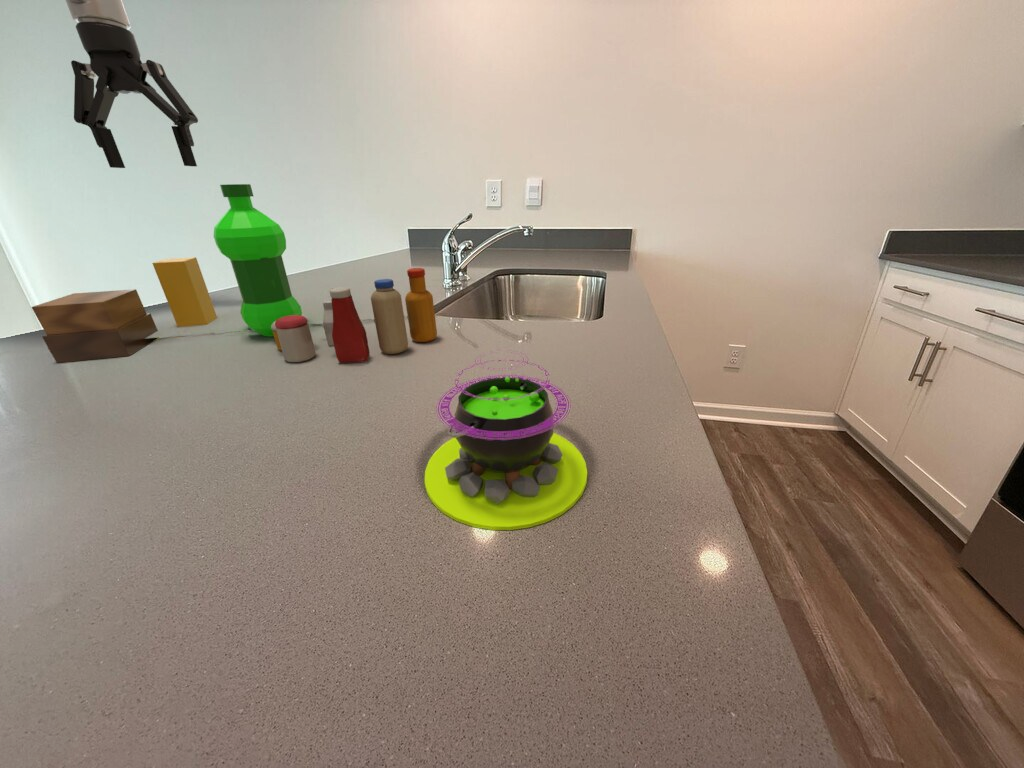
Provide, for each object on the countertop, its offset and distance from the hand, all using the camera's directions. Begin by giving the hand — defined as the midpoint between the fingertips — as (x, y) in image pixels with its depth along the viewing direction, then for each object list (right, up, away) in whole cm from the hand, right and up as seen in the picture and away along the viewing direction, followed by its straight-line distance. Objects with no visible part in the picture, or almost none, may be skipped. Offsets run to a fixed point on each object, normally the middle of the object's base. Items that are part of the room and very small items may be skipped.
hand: (154, 167), depth 79 cm
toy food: (+43, -37, -11) cm, 58 cm away
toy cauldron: (+69, -50, -41) cm, 95 cm away
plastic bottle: (+25, -33, -2) cm, 41 cm away
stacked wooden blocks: (0, -36, -9) cm, 37 cm away
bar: (+8, -31, +1) cm, 32 cm away
